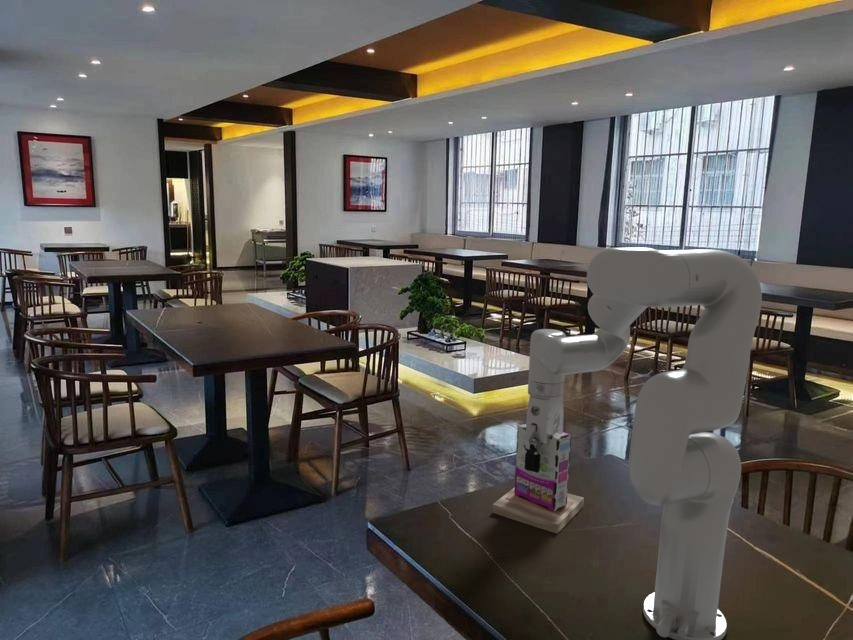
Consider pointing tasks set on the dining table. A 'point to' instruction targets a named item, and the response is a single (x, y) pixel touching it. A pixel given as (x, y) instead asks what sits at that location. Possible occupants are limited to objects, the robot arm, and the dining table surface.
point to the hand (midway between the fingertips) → (541, 463)
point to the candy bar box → (544, 471)
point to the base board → (537, 511)
